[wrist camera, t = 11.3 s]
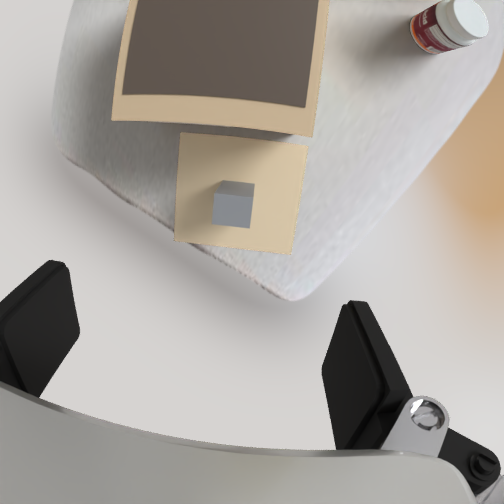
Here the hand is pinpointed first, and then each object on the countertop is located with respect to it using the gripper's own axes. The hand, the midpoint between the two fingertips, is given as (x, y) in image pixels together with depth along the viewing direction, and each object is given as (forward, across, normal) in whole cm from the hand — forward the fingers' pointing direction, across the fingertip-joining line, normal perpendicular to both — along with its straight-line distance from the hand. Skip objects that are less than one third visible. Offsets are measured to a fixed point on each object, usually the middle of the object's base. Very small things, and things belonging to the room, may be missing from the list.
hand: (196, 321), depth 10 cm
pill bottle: (+22, -17, -20) cm, 34 cm away
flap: (+22, 0, +1) cm, 22 cm away
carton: (+22, +2, -13) cm, 25 cm away
